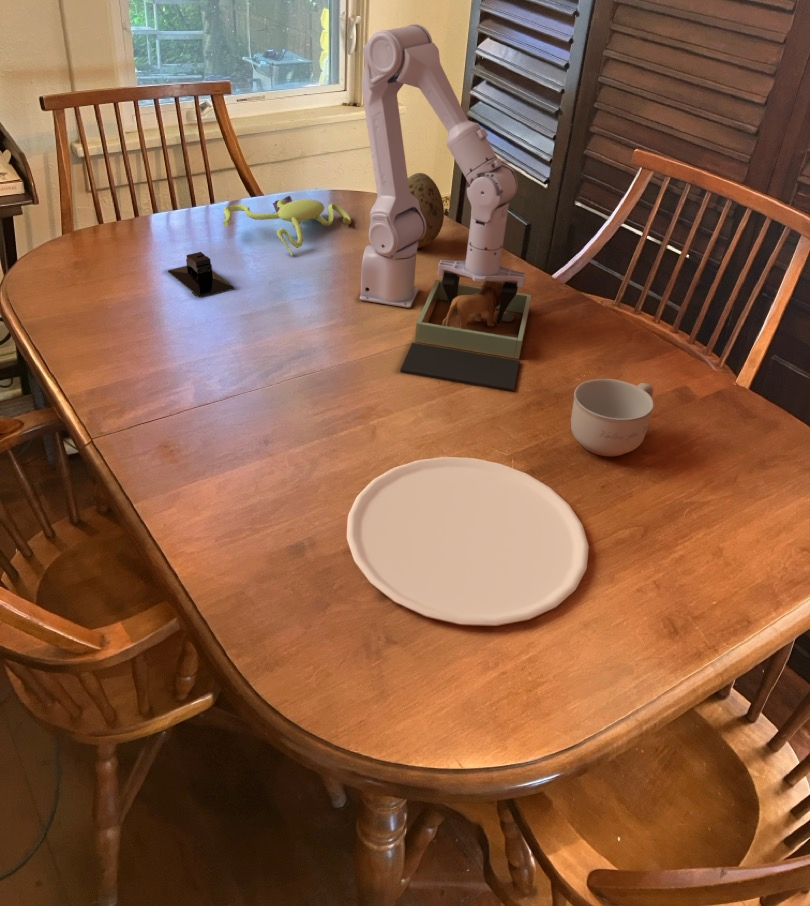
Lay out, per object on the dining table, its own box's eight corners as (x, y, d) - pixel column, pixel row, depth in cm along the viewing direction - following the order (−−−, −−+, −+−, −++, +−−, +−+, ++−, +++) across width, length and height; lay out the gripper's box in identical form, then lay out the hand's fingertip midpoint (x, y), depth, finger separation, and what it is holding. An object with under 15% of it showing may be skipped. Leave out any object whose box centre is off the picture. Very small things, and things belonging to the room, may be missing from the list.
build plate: (234, 289, 145) (233, 265, 143) (198, 299, 142) (195, 274, 139) (201, 263, 153) (199, 240, 150) (165, 272, 149) (163, 248, 146)
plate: (404, 663, 82) (405, 655, 81) (313, 488, 102) (313, 481, 102) (636, 590, 92) (639, 583, 91) (511, 445, 113) (512, 438, 112)
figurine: (210, 236, 163) (208, 209, 159) (292, 201, 182) (292, 176, 178) (282, 261, 156) (282, 234, 152) (360, 222, 174) (360, 197, 171)
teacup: (595, 474, 109) (608, 426, 104) (549, 430, 116) (559, 384, 111) (672, 450, 114) (688, 403, 110) (623, 410, 122) (636, 365, 117)
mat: (400, 372, 126) (400, 369, 126) (412, 345, 133) (412, 342, 133) (513, 391, 124) (513, 389, 124) (519, 363, 131) (519, 360, 131)
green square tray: (414, 341, 134) (416, 323, 132) (434, 297, 148) (435, 279, 146) (518, 359, 132) (522, 340, 130) (528, 312, 146) (531, 294, 144)
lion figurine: (484, 309, 146) (491, 262, 140) (508, 319, 143) (515, 272, 138) (432, 335, 137) (437, 286, 131) (456, 347, 134) (462, 298, 128)
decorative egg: (430, 260, 161) (437, 186, 152) (380, 250, 164) (384, 176, 154) (447, 242, 169) (454, 170, 160) (400, 232, 172) (404, 161, 163)
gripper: (437, 246, 129) (430, 321, 137) (527, 259, 127) (514, 335, 135) (445, 230, 134) (437, 303, 142) (531, 242, 132) (518, 316, 140)
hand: (475, 318), depth 139 cm, fingers open, 7 cm apart
